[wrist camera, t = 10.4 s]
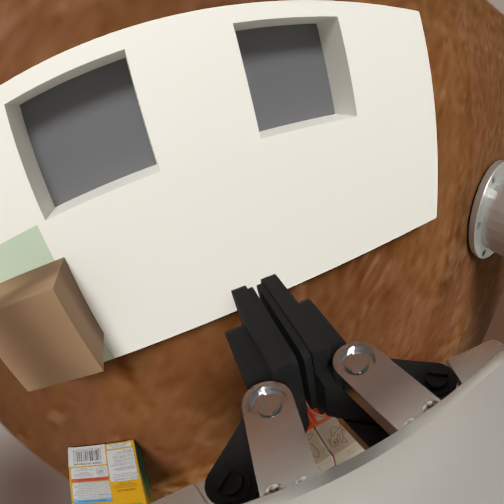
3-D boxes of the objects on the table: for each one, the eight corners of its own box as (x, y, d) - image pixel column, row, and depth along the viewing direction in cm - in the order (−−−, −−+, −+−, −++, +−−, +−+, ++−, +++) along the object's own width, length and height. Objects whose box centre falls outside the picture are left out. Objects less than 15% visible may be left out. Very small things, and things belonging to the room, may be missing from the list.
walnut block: (64, 256, 13) (52, 288, 11) (103, 333, 16) (103, 371, 13) (-9, 286, 12) (-27, 319, 10) (35, 354, 15) (28, 391, 12)
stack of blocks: (251, 390, 26) (315, 505, 16) (313, 359, 27) (391, 460, 17) (291, 461, 37) (330, 526, 27) (329, 441, 38) (373, 503, 28)
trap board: (394, 15, 16) (418, 11, 14) (414, 207, 24) (436, 217, 22) (-65, 145, 9) (-87, 153, 7) (45, 357, 17) (41, 383, 15)
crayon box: (79, 460, 23) (93, 558, 13) (66, 446, 22) (77, 552, 12) (142, 452, 25) (169, 553, 15) (133, 438, 24) (159, 548, 14)
